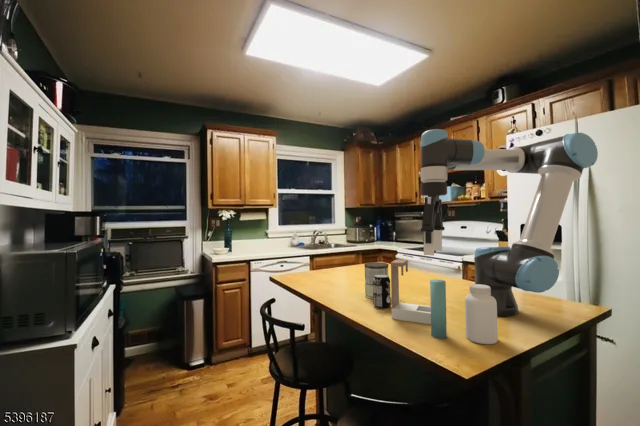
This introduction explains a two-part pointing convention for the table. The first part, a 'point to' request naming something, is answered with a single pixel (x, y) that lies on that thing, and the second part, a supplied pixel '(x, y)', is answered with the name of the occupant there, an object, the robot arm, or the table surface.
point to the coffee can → (370, 271)
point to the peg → (438, 308)
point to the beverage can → (381, 291)
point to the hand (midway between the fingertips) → (433, 252)
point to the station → (404, 309)
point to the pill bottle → (481, 315)
